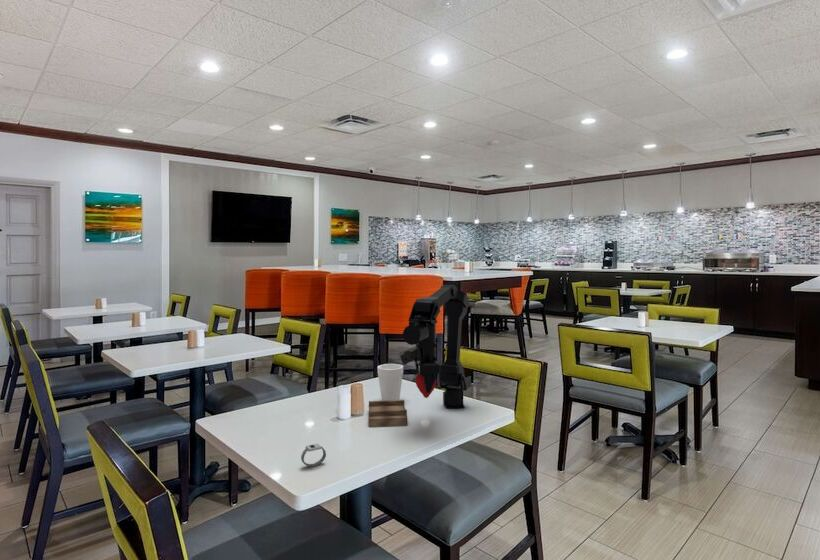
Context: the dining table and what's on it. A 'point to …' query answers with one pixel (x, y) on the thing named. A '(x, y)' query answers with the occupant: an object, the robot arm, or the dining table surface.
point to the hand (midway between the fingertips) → (426, 389)
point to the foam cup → (390, 381)
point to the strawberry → (423, 385)
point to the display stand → (387, 413)
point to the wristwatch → (312, 448)
